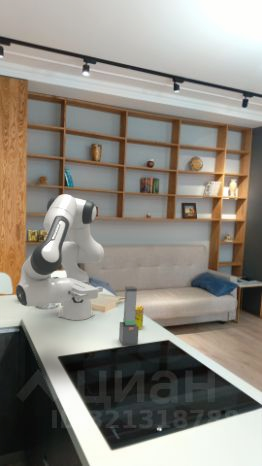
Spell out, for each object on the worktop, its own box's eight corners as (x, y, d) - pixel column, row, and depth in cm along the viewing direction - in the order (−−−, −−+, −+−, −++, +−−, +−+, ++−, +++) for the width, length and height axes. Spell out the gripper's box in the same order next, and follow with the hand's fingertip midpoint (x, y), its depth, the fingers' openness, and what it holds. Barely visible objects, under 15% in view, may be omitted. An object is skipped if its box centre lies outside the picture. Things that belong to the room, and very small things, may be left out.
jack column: (122, 326, 151) (124, 286, 149) (132, 325, 152) (134, 286, 150) (125, 329, 147) (127, 288, 145) (134, 329, 148) (137, 288, 146)
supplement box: (140, 332, 166) (141, 309, 165) (128, 331, 167) (129, 308, 166) (142, 328, 171) (144, 306, 171) (130, 327, 173) (131, 305, 172)
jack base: (109, 340, 154) (110, 320, 153) (140, 339, 157) (141, 319, 157) (114, 351, 142) (115, 329, 142) (147, 350, 146) (149, 328, 145)
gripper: (77, 287, 119) (111, 283, 128) (50, 276, 135) (82, 273, 144) (76, 305, 120) (110, 300, 129) (50, 292, 136) (81, 288, 144)
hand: (95, 286), depth 136 cm, fingers open, 8 cm apart
